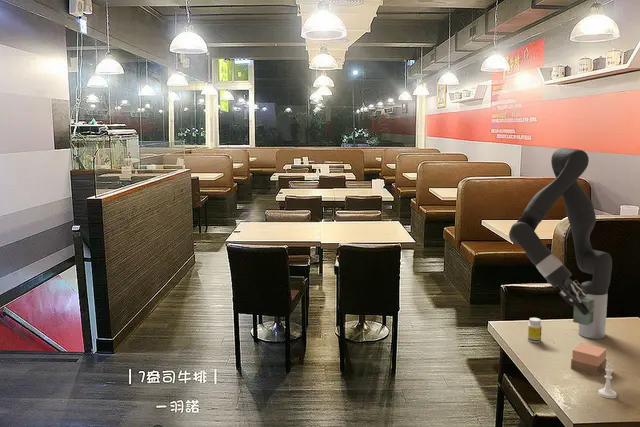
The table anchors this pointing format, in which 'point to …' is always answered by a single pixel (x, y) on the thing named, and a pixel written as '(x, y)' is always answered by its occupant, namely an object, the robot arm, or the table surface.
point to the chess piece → (607, 385)
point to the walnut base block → (588, 367)
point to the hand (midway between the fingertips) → (589, 310)
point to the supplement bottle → (534, 330)
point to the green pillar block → (578, 315)
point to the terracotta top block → (589, 354)
